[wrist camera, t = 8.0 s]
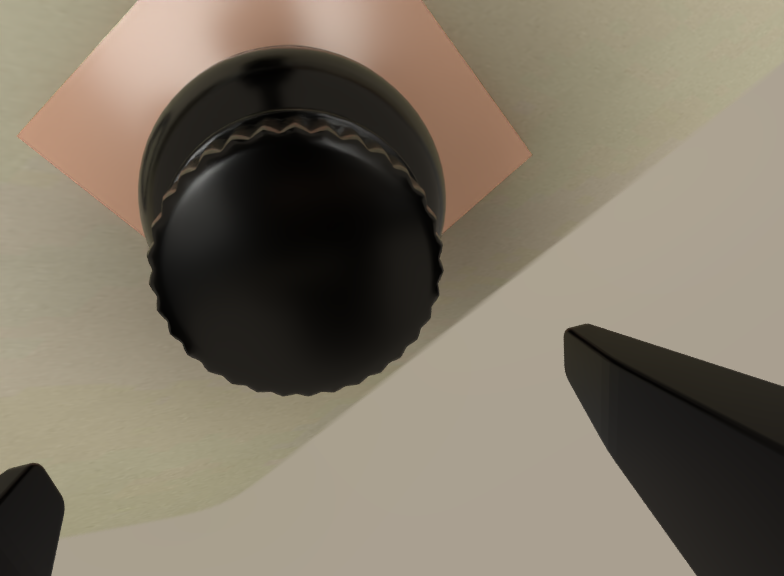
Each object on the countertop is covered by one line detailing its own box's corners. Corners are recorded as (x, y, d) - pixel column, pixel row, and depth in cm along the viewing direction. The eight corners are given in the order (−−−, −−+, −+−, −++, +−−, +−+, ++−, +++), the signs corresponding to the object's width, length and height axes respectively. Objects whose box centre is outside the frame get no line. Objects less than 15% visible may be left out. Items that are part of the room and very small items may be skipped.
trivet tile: (295, -167, 16) (296, -176, 15) (524, 151, 22) (532, 154, 21) (27, 131, 18) (16, 136, 17) (299, 349, 24) (299, 358, 23)
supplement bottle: (425, 125, 20) (587, 234, 9) (320, 264, 21) (352, 496, 11) (265, -7, 17) (228, -73, 6) (159, 165, 19) (-11, 343, 8)
